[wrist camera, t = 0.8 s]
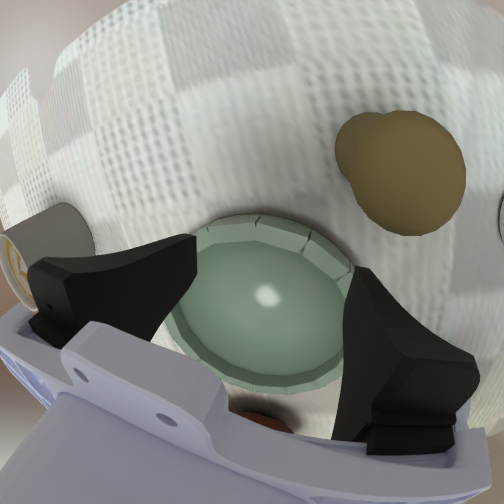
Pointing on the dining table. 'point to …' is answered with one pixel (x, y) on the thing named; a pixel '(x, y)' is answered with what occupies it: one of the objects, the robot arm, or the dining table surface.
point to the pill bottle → (502, 221)
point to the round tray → (265, 304)
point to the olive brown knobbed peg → (402, 170)
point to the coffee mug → (42, 245)
